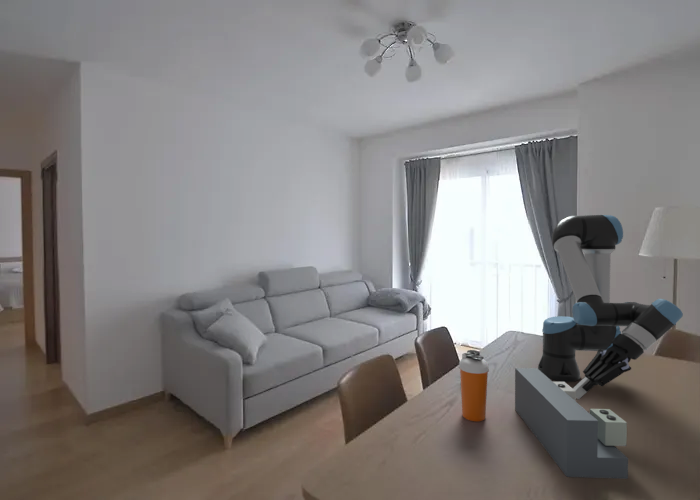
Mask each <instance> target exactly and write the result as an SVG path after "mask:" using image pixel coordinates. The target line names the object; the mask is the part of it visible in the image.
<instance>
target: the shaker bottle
mask: <svg viewBox="0 0 700 500" xmlns="http://www.w3.org/2000/svg"><path fill="white" fill-rule="evenodd" d="M458 365H459V367H458V368H459V375H460V390H461V391H460V392H461V393H460V394H461V395H460V396H461V412H462V413H461V414H462V417H463V418H464V419H465V420H468V421H470V422H483V421H485V420H486V413H487V409H486V408H487V393H488V378H489V377H488V375H489V373H488V372H489V371H490V370H489V363H488V361H486V360H485V358H484V356H482V355H481V354H480V355H476V354H475V352H468V353H467V352H463V353H462V354H461V359H460V360H459V363H458Z"/></svg>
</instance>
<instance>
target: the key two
mask: <svg viewBox="0 0 700 500" xmlns="http://www.w3.org/2000/svg"><path fill="white" fill-rule="evenodd" d="M589 413H590V414H591V415H592V416H593V417H594V418H595V419H597V420H598V439H599V440H600V441H601V442H602V443H603V444H604V445H605V446H615V447H627V436H628V435H627V430H628V429H627V427H628V422H627V421H626V420H624V419H623V418H622V417H620V416H619V415H618V414H617V413H616V412H614V411H613V410H611V409H610V408H589Z"/></svg>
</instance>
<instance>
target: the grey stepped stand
mask: <svg viewBox="0 0 700 500" xmlns="http://www.w3.org/2000/svg"><path fill="white" fill-rule="evenodd" d="M514 369H515V370H514V379H515V380H514V390H515V391H514V410H515V412H516V413H517V414H518V415H519V417H520V418H521V419H522V420H523V422H524V423H525V424H526V426H527V427H528V429H529V430H530V431H531V433H532V434H533V435H534V436H535V437H536V439H537V440H538V442H539V443H540V444H541V446H542V447H543V448H544V449H545V450H546V452H547V453H548V454H549V456H550V457H551V458H552V459H553V461H554V463H556V465H557V466H558V467H559V469H560V470H561V471H562V473H563V474H564V475H565V476H566V477H567V478H568V477H569V478H590V479H591V478H592V479H593V478H595V479H596V478H597V479H625V480H627V479H628V478H629V457H627V456H626V455H625V454H624V453H623V452H622V451H621V450H620V449H618V447H617V446H605V445H604V444H603V443H602V442H601V441H600V440H599V439H598V420H597V419H595V418H594V417H593V416H592V415H591V414H590V412H589V411H587V410H586V409H585V408H584V407H583V406H581V405H580V404H579V403H578V402H577V400H576V401H575V400H573V399H572V398H571V397H570V396H569V395H568V394H566V393H565V392H564V391H563V390H562V389H561V388H559V387H558V386H557V385H556V384H555V383H554V382H555V381H554V380H553V381H552V379H549V378H548V377H547V376H546V375H544V374H543V373H542V372H541V371H540V370H539V369H538V367H515V368H514Z"/></svg>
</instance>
